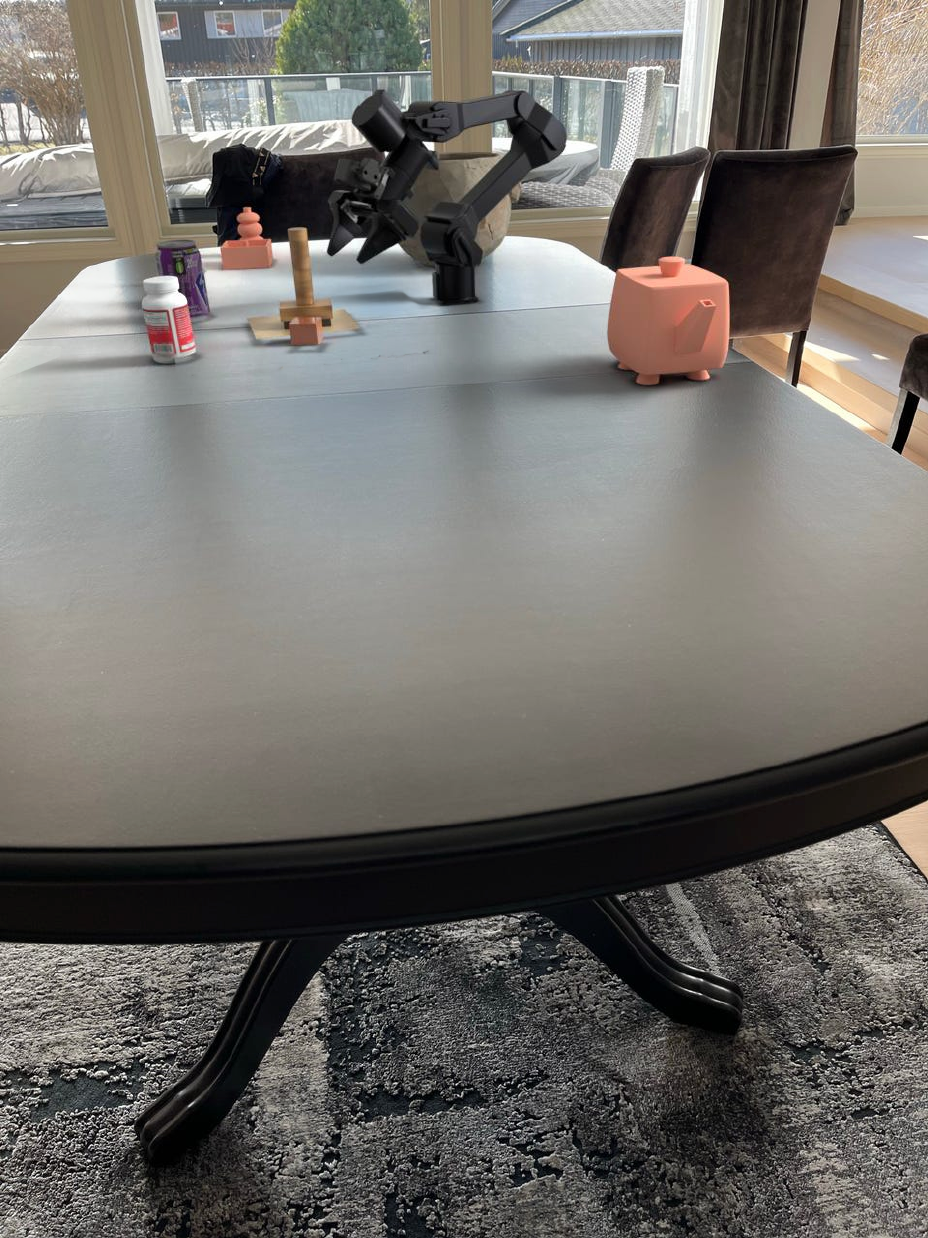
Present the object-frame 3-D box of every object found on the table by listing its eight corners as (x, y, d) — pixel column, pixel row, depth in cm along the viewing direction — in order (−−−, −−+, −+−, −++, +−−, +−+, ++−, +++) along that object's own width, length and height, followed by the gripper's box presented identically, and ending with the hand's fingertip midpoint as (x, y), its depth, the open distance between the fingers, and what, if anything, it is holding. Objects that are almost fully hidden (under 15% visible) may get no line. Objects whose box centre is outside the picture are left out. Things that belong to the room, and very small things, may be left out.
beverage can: (199, 324, 154) (186, 246, 148) (159, 323, 155) (145, 246, 149) (217, 313, 160) (205, 238, 154) (179, 313, 161) (165, 238, 155)
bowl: (352, 270, 190) (343, 159, 180) (436, 247, 210) (432, 147, 199) (463, 282, 176) (460, 164, 166) (541, 257, 196) (543, 150, 186)
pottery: (269, 267, 195) (263, 216, 190) (223, 269, 194) (215, 218, 189) (276, 252, 210) (270, 204, 205) (233, 254, 210) (226, 206, 205)
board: (345, 314, 157) (344, 308, 156) (361, 334, 145) (361, 327, 145) (248, 324, 153) (247, 317, 153) (256, 345, 141) (255, 338, 141)
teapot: (747, 393, 115) (763, 271, 108) (649, 402, 113) (658, 279, 106) (677, 347, 134) (686, 241, 126) (591, 354, 132) (595, 247, 124)
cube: (324, 344, 141) (321, 316, 139) (319, 351, 137) (316, 323, 135) (297, 344, 141) (294, 317, 139) (292, 351, 138) (288, 323, 136)
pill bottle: (192, 350, 140) (178, 272, 134) (201, 360, 135) (187, 280, 129) (149, 356, 137) (133, 277, 132) (157, 367, 133) (141, 285, 127)
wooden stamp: (332, 318, 150) (323, 224, 143) (334, 326, 146) (324, 229, 139) (282, 322, 149) (270, 227, 142) (281, 329, 145) (269, 232, 138)
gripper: (332, 133, 148) (278, 217, 148) (396, 138, 135) (337, 230, 135) (378, 183, 156) (327, 263, 156) (444, 192, 143) (388, 279, 143)
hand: (343, 258), depth 147 cm, fingers open, 9 cm apart
